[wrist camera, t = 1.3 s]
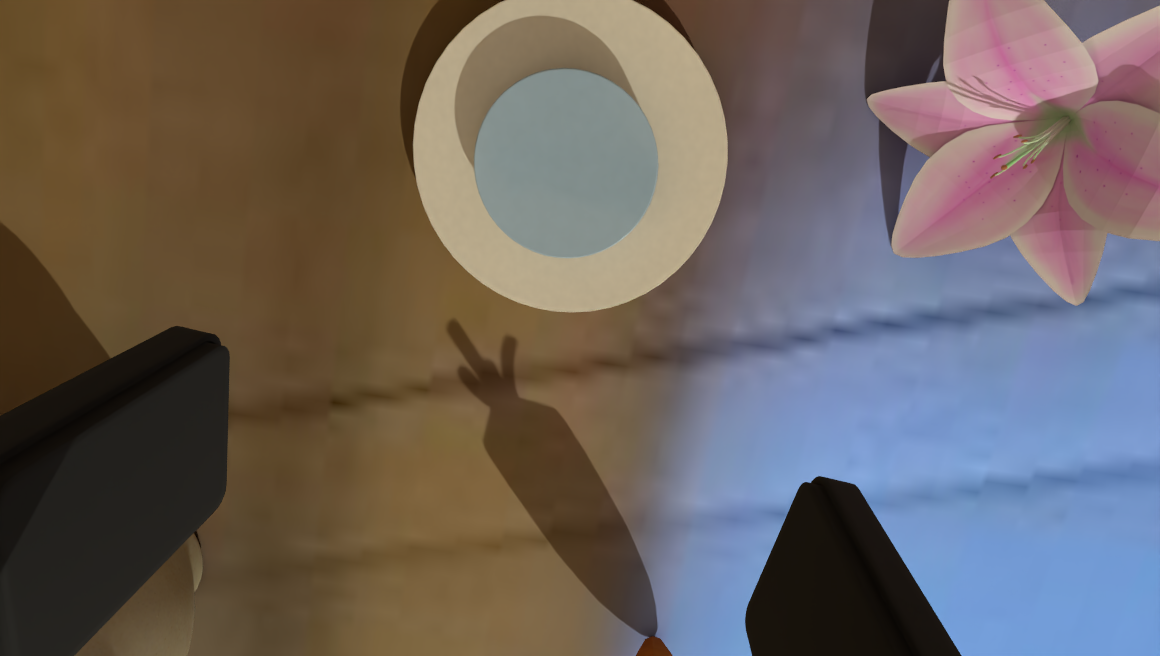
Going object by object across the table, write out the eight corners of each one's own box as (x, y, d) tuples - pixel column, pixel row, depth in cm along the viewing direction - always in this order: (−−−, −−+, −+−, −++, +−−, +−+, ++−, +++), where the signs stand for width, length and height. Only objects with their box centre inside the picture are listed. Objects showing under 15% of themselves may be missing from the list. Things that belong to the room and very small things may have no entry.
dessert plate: (447, -49, 24) (438, -56, 23) (768, 38, 24) (775, 35, 23) (401, 265, 28) (393, 272, 27) (671, 333, 29) (673, 343, 28)
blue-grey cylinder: (500, 48, 24) (492, 45, 22) (678, 95, 24) (682, 95, 23) (468, 226, 26) (459, 234, 25) (629, 267, 27) (629, 277, 25)
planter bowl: (299, 500, 34) (162, 676, 23) (218, 682, 39) (78, 888, 29) (8, 367, 32) (-280, 495, 21) (-34, 578, 37) (-280, 760, 27)
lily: (914, -85, 23) (888, -43, 17) (1333, -90, 19) (1521, -36, 12) (845, 201, 31) (809, 307, 24) (1134, 245, 26) (1185, 390, 20)
